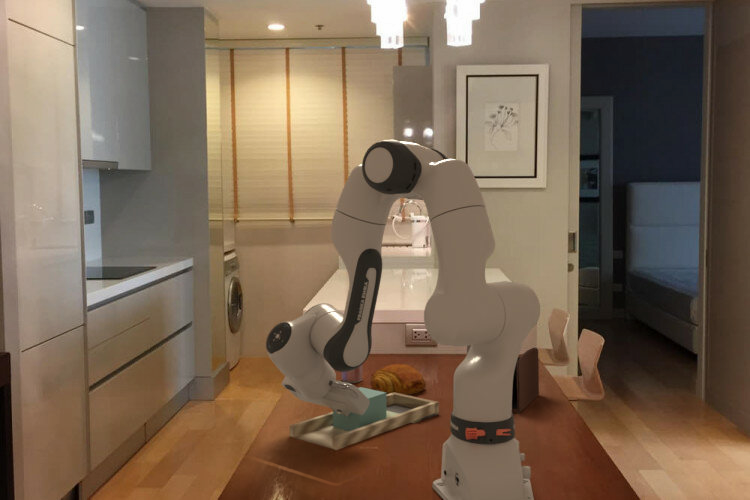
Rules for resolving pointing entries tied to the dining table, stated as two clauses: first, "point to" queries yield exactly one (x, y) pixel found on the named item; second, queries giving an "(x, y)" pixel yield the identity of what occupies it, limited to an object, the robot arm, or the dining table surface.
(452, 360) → the dining table surface
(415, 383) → the croissant
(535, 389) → the letter holder
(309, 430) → the trap lane
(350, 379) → the beverage can
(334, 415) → the teal block
